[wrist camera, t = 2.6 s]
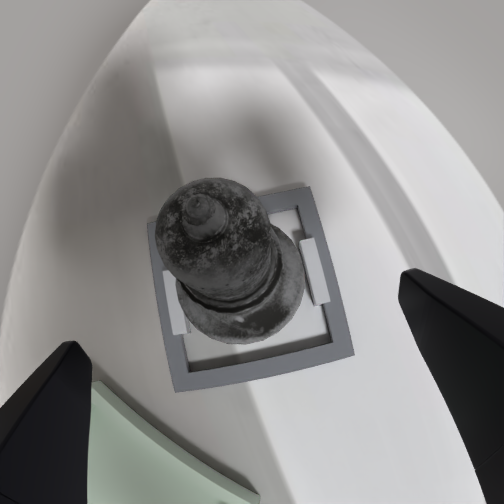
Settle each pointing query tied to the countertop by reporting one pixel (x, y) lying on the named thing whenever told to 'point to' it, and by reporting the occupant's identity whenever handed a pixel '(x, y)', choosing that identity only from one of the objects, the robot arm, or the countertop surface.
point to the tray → (147, 462)
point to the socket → (340, 347)
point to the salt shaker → (229, 261)
